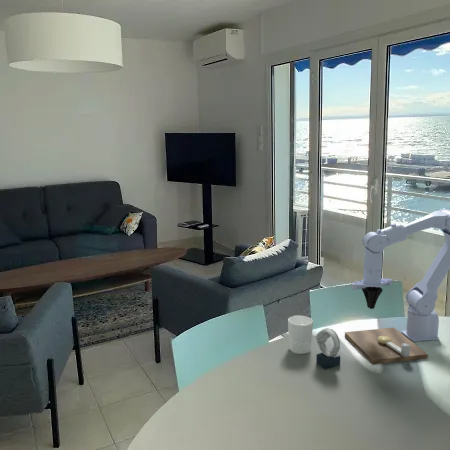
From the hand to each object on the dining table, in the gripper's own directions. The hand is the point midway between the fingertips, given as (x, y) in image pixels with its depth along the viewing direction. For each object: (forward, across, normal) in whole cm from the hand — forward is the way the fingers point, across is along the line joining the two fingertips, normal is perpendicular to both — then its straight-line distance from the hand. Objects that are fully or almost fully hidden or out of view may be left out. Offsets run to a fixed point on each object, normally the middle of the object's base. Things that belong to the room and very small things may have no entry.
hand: (370, 307), depth 158 cm
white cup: (+11, -26, -1) cm, 28 cm away
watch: (+11, -23, -12) cm, 28 cm away
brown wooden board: (+10, 0, -8) cm, 13 cm away
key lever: (+8, 0, -13) cm, 15 cm away
